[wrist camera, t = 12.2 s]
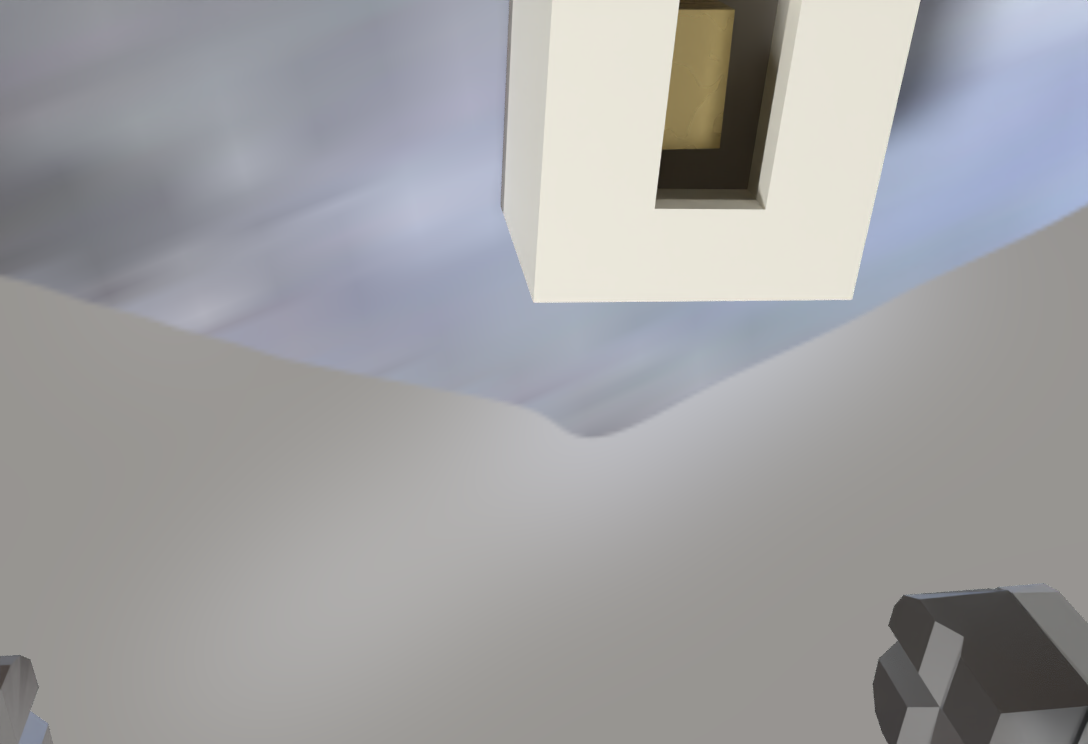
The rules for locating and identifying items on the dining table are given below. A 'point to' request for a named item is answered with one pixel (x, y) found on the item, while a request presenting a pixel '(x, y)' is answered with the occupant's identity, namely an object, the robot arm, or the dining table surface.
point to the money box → (697, 150)
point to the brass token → (698, 75)
